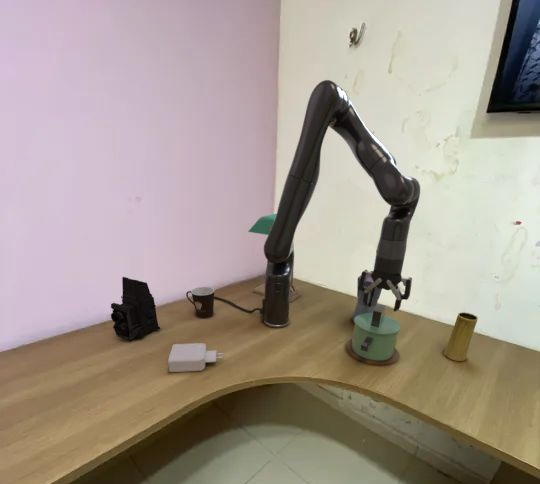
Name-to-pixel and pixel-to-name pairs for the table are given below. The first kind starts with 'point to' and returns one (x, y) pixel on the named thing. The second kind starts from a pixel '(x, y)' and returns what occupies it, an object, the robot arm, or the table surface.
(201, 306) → the coffee mug
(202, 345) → the charger
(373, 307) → the moka pot
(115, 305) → the camera
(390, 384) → the table surface
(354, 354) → the trivet
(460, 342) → the vase
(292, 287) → the banker's lamp
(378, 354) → the pot
